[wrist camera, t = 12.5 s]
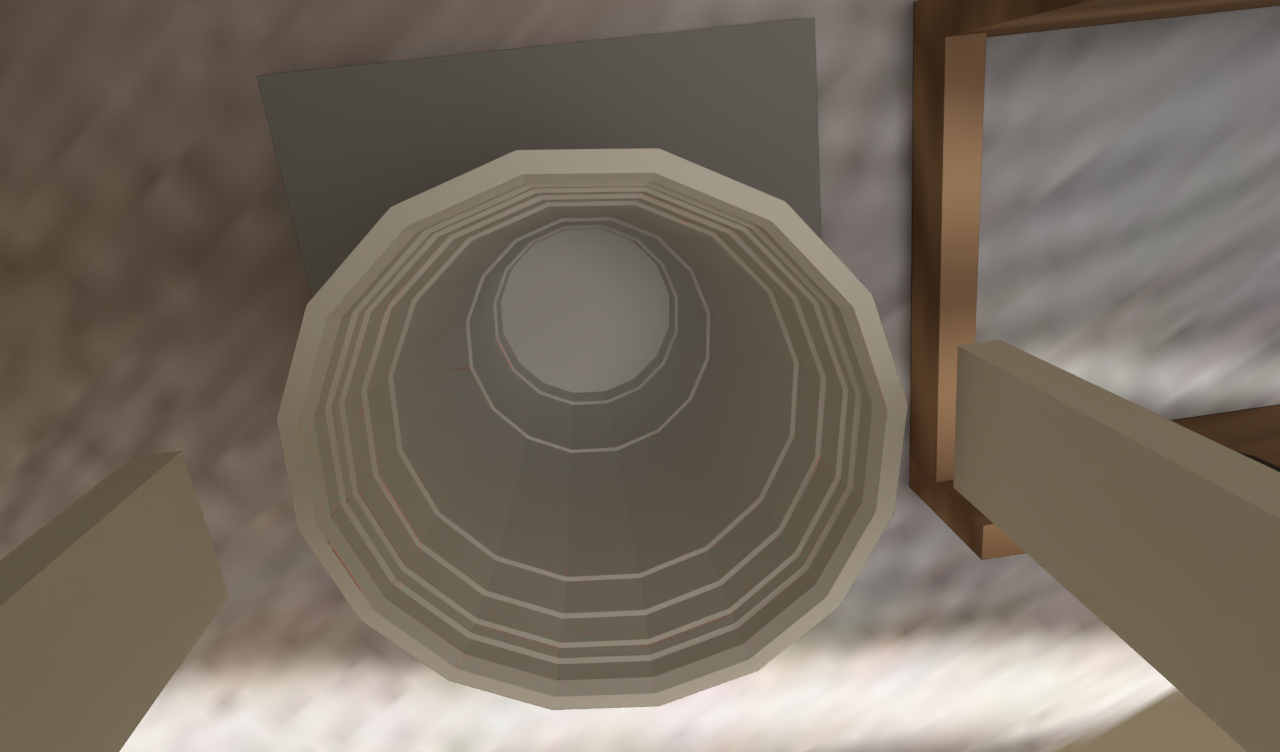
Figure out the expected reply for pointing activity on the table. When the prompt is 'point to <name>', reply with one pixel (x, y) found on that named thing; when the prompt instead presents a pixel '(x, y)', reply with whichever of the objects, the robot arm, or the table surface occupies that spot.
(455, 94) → the mat
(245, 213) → the table surface
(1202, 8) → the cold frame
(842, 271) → the plastic cup
